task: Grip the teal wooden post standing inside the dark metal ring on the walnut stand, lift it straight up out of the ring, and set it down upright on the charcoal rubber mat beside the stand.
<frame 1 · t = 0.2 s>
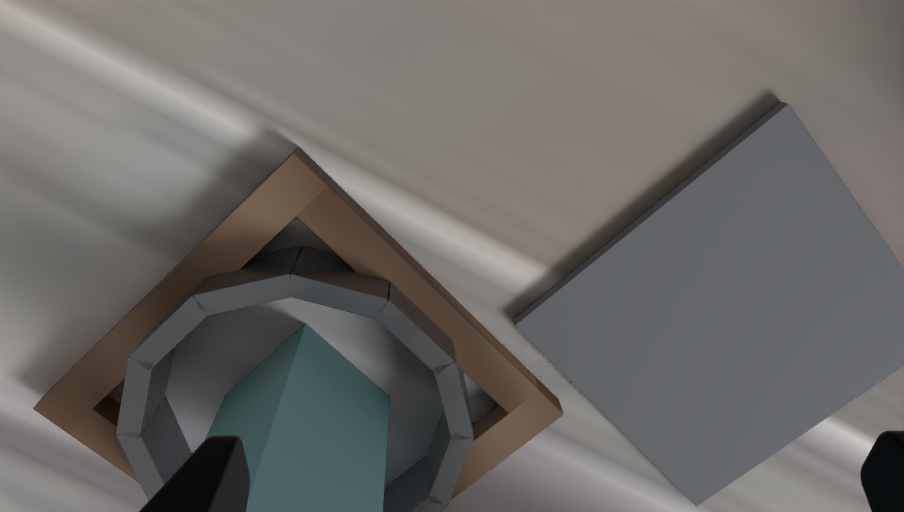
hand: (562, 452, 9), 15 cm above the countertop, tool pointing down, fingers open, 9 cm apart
charcoal mat: (731, 324, 26), on the countertop
teal post: (285, 483, 22), in the metal ring
metal ring: (303, 415, 25), in the walnut stand
walnut stand: (308, 396, 26), on the countertop
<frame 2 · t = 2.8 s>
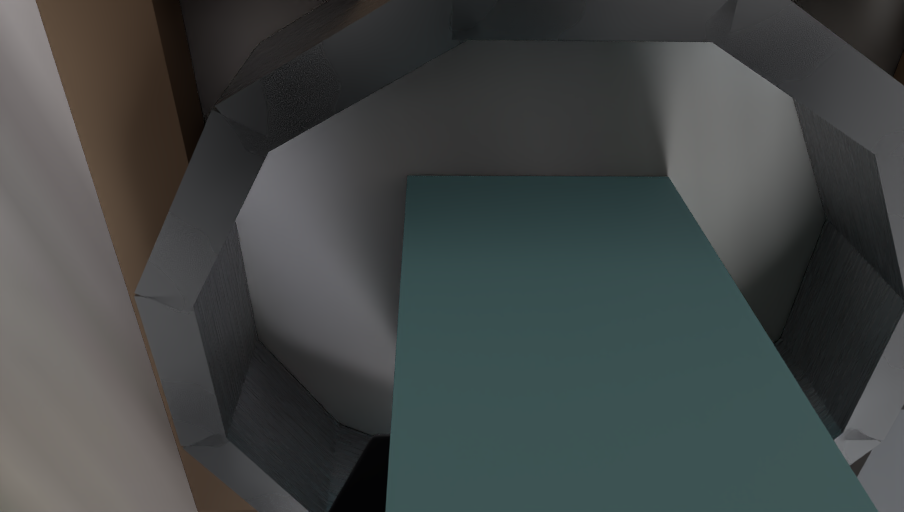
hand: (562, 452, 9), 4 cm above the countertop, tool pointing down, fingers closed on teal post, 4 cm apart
teal post: (573, 511, 9), in the metal ring, touching gripper
metal ring: (536, 324, 12), in the walnut stand
walnut stand: (528, 282, 13), on the countertop
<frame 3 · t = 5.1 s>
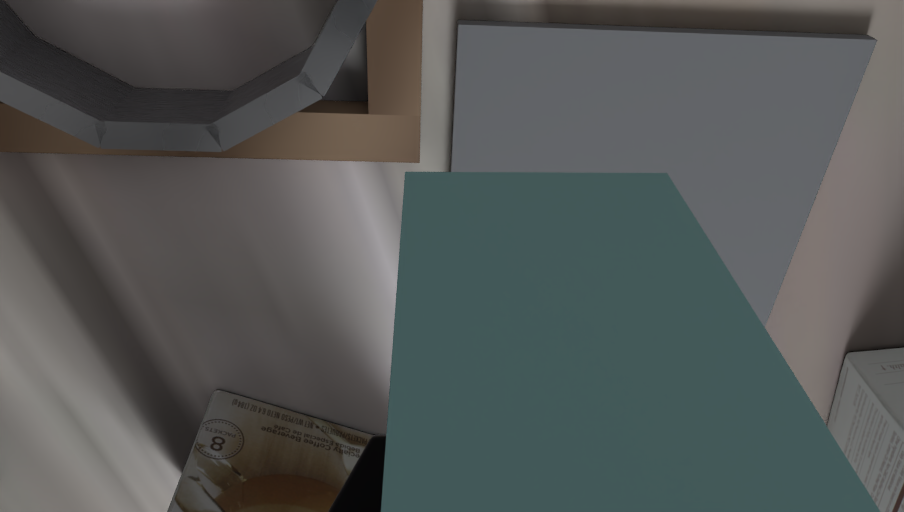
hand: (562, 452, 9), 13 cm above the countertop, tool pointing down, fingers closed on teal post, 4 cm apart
charcoal mat: (626, 208, 23), on the countertop
teal post: (571, 508, 9), point 14 cm above the countertop, touching gripper
coffee box: (299, 457, 29), on the countertop
when the fingers open (6 cm above the countertop, at t = 7.6 s): teal post drops 1 cm, resting on charcoal mat.
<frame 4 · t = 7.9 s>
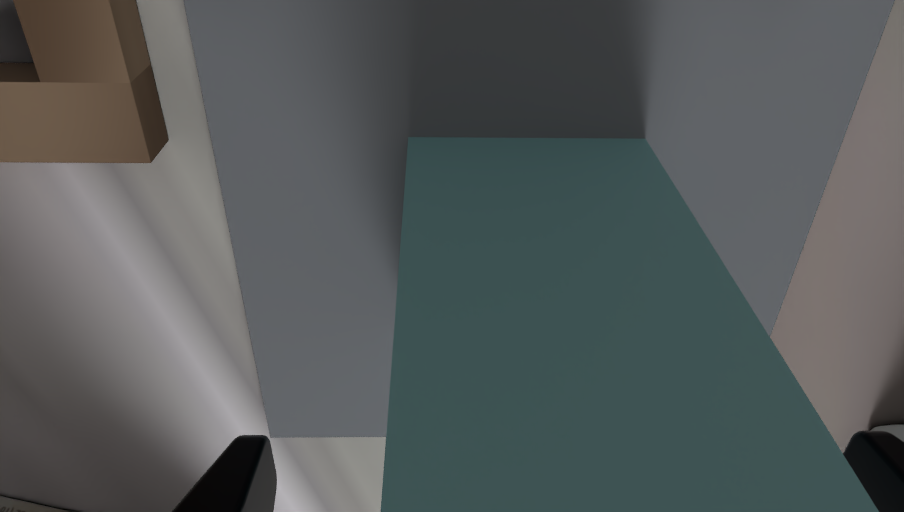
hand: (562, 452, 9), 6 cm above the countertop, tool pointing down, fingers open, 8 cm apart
charcoal mat: (519, 228, 14), on the countertop
teal post: (554, 422, 10), on the charcoal mat
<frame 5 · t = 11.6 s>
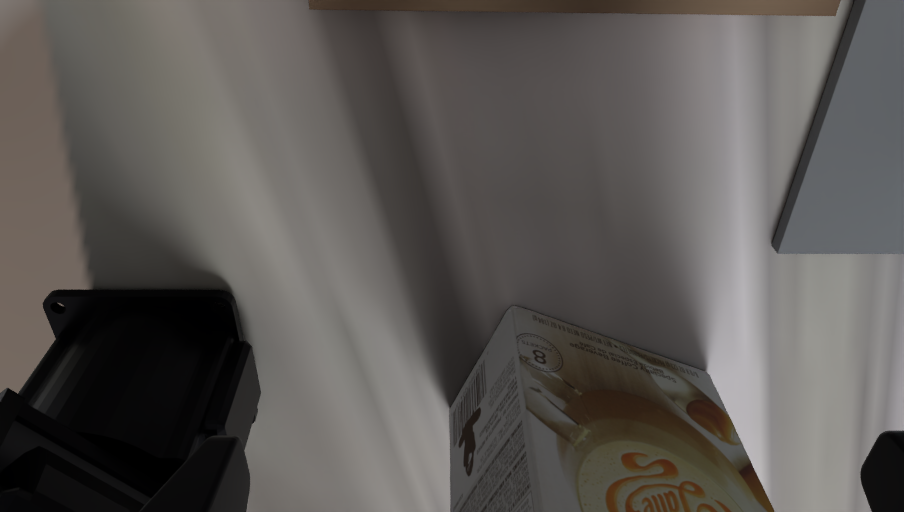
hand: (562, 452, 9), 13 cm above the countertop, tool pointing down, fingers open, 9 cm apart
coffee box: (574, 386, 27), on the countertop
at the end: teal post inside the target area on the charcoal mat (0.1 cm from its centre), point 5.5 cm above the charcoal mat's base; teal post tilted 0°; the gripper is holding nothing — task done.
